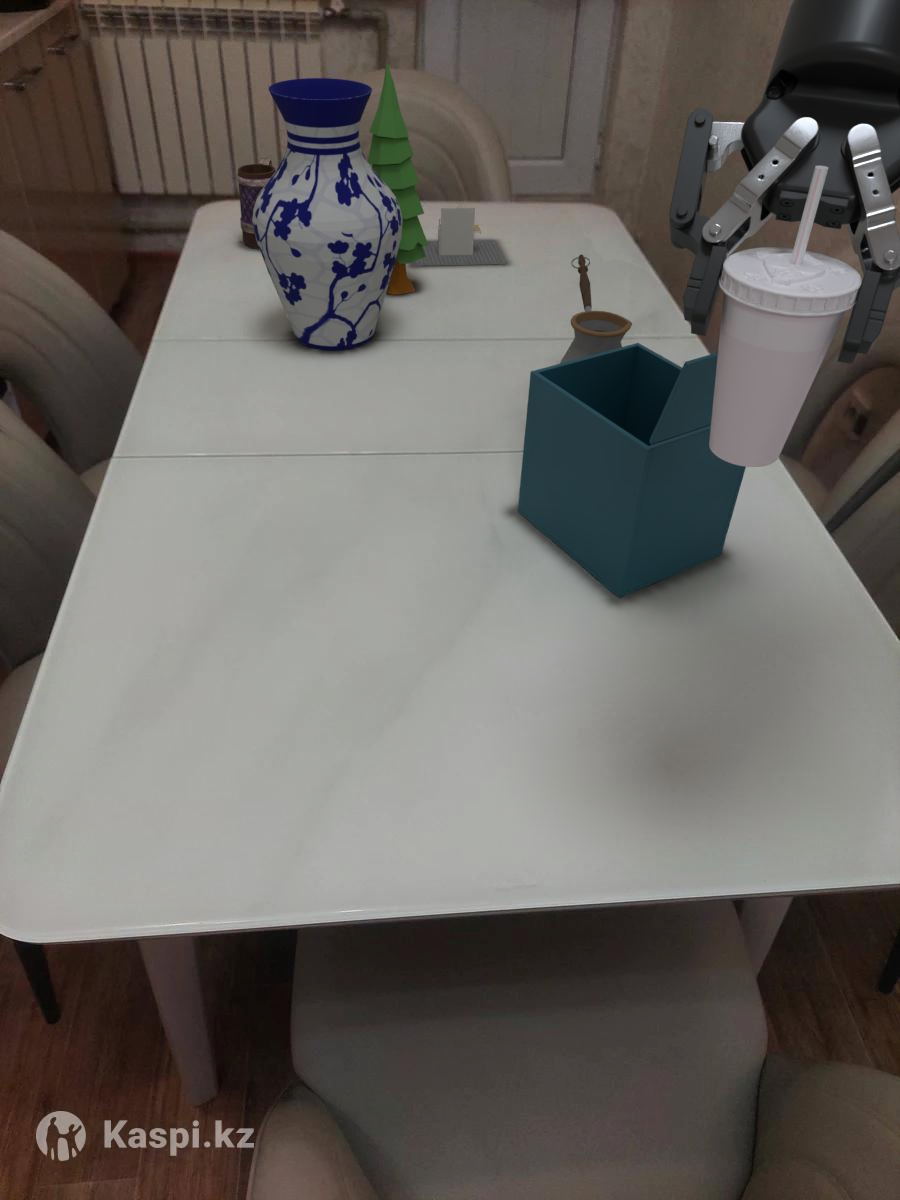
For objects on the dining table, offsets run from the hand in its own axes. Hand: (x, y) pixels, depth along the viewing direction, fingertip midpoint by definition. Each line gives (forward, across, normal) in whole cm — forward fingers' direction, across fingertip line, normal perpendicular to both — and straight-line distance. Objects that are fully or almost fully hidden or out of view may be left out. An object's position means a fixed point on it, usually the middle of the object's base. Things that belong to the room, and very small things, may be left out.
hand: (771, 341), depth 42 cm
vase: (-17, -59, +66) cm, 90 cm away
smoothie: (+4, 0, +6) cm, 7 cm away
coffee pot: (-13, -22, +62) cm, 68 cm away
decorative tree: (-31, -58, +80) cm, 103 cm away
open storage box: (+3, -11, +45) cm, 47 cm away
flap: (-8, -3, +28) cm, 29 cm away
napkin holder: (-44, -57, +93) cm, 117 cm away
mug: (-37, -88, +86) cm, 129 cm away
